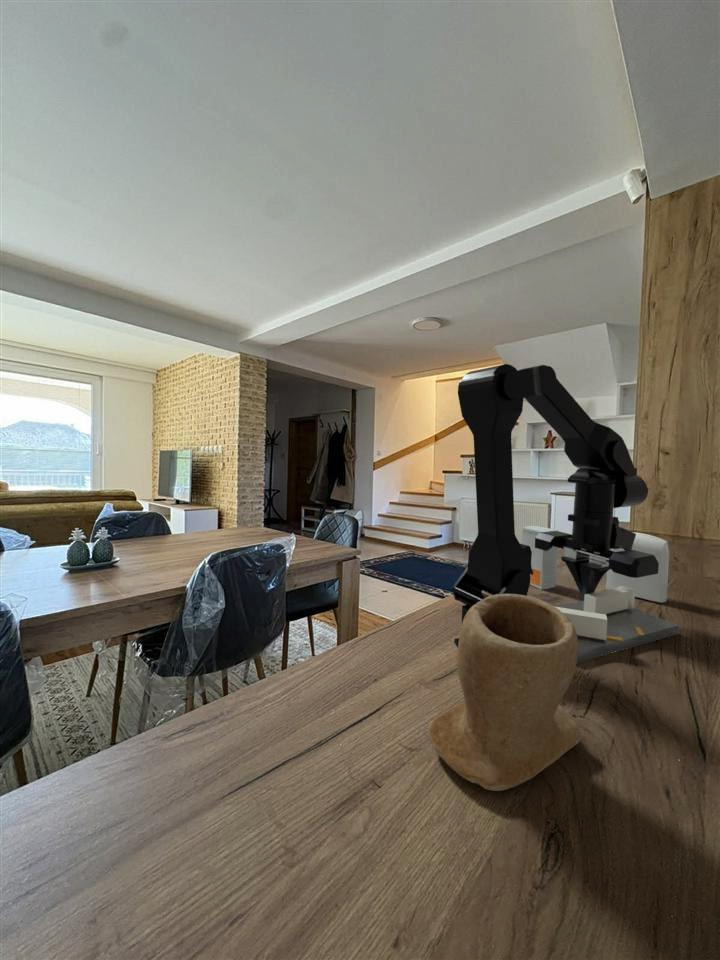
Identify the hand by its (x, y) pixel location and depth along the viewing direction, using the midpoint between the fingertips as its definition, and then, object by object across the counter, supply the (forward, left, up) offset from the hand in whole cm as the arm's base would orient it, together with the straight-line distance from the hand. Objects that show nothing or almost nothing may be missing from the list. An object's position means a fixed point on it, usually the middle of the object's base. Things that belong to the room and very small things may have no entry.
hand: (586, 601), depth 71 cm
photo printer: (+19, +4, -3) cm, 20 cm away
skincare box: (+6, +16, -3) cm, 18 cm away
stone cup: (-34, -19, -3) cm, 39 cm away
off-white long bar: (+3, -2, -1) cm, 4 cm away
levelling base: (-3, -3, -3) cm, 6 cm away
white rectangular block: (-10, -5, -1) cm, 11 cm away
